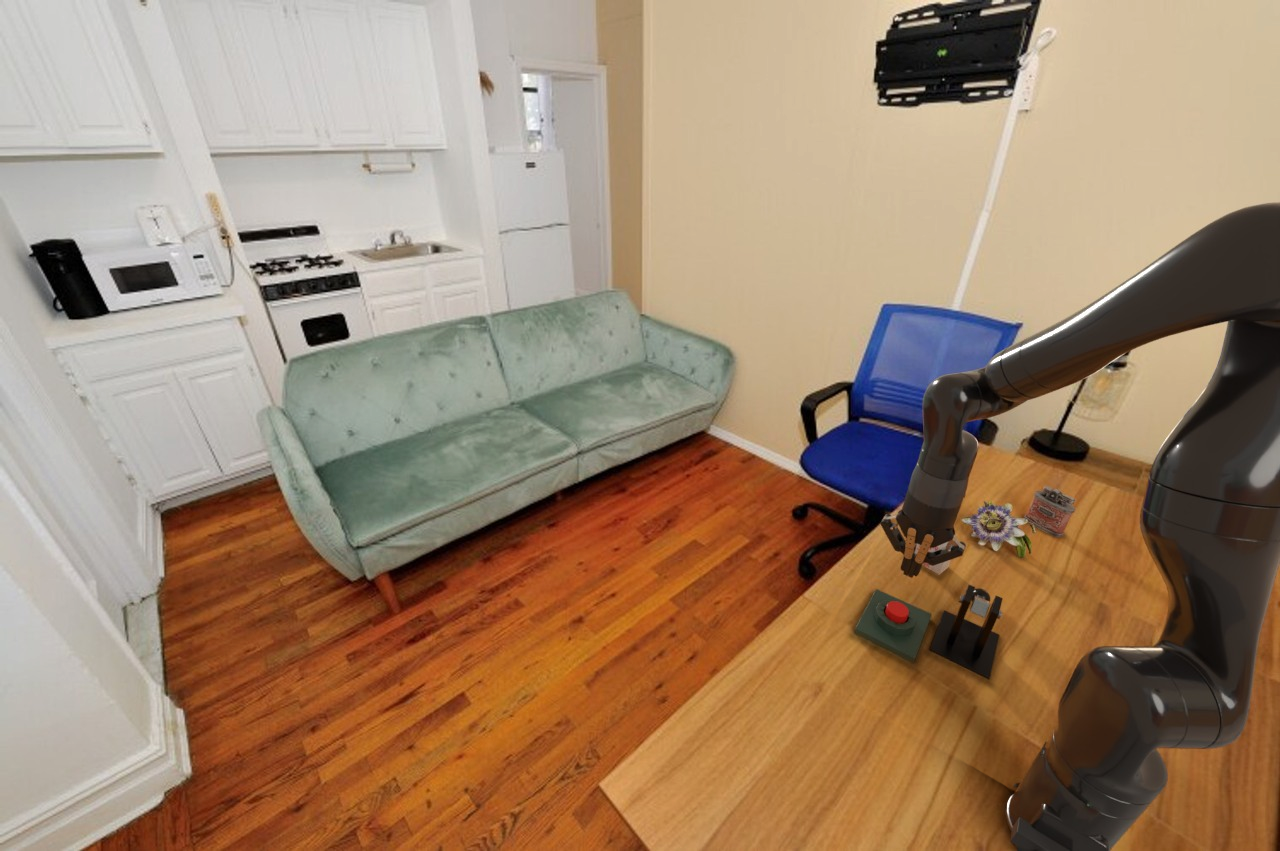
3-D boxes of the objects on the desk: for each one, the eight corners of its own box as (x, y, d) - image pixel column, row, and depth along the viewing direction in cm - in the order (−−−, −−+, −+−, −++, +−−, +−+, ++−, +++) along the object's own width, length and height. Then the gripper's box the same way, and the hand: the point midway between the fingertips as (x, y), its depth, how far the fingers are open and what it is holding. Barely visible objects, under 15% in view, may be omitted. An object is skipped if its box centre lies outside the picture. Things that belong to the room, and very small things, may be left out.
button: (903, 626, 89) (905, 620, 88) (882, 616, 91) (884, 610, 91) (909, 614, 92) (911, 607, 91) (888, 604, 94) (890, 597, 93)
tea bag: (916, 552, 111) (927, 516, 106) (947, 570, 106) (960, 533, 101) (906, 559, 109) (917, 522, 104) (938, 577, 104) (951, 540, 99)
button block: (911, 666, 86) (917, 651, 84) (853, 636, 92) (857, 621, 90) (929, 622, 94) (934, 607, 93) (873, 596, 100) (878, 581, 98)
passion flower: (974, 564, 115) (950, 518, 114) (998, 538, 119) (976, 494, 119) (1027, 569, 104) (1002, 519, 104) (1051, 541, 109) (1027, 492, 108)
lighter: (1020, 518, 120) (1035, 484, 116) (1029, 514, 121) (1044, 480, 117) (1057, 539, 114) (1074, 503, 109) (1066, 534, 115) (1083, 499, 110)
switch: (967, 599, 96) (973, 584, 95) (986, 607, 94) (992, 592, 94) (965, 612, 85) (972, 594, 85) (987, 621, 83) (994, 603, 83)
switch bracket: (942, 614, 96) (959, 568, 90) (997, 639, 91) (1019, 591, 85) (928, 653, 89) (945, 606, 83) (987, 683, 83) (1010, 634, 78)
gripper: (883, 487, 80) (862, 568, 88) (979, 521, 72) (946, 606, 81) (897, 467, 85) (876, 545, 93) (988, 496, 77) (956, 578, 86)
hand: (909, 573), depth 87 cm, fingers closed
